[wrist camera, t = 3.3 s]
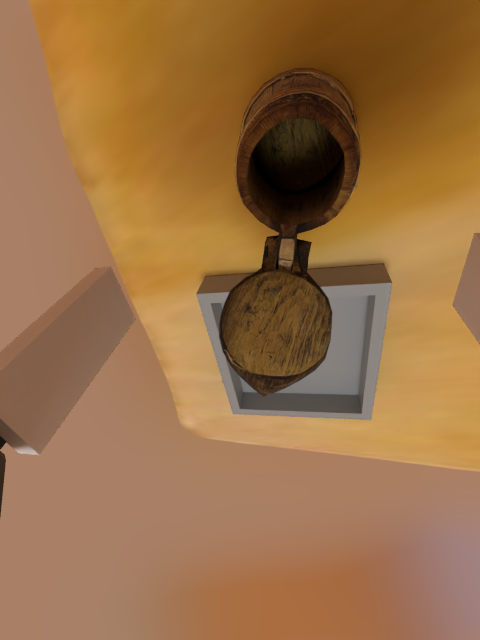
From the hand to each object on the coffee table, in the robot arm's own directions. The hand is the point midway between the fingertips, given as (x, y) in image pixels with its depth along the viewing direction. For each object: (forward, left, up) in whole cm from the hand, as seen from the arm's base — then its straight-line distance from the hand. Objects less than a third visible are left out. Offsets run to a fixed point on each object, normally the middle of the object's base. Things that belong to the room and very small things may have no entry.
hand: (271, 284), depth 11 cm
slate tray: (+19, -1, -18) cm, 26 cm away
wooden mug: (0, 0, -18) cm, 18 cm away
